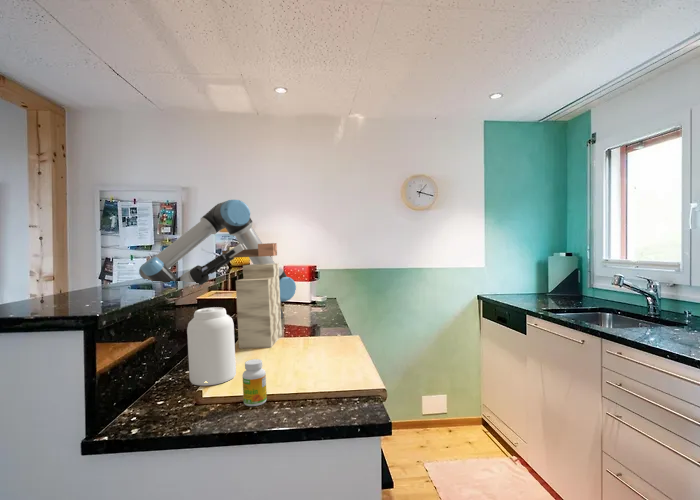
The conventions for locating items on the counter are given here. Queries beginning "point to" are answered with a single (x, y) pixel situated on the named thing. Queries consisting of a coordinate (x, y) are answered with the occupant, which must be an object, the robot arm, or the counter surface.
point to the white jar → (211, 347)
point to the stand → (259, 306)
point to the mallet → (258, 251)
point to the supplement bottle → (254, 383)
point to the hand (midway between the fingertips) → (243, 246)
